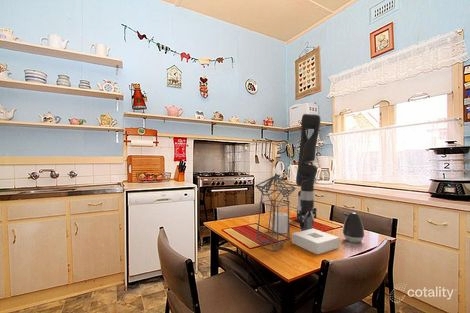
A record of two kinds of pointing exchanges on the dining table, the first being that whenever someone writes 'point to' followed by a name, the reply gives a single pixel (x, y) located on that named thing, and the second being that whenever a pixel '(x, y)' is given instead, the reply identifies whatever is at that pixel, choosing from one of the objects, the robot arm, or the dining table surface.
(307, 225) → the plug
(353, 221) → the dark grey rounded cone
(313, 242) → the socket block
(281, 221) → the mug
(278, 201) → the geometric lantern
